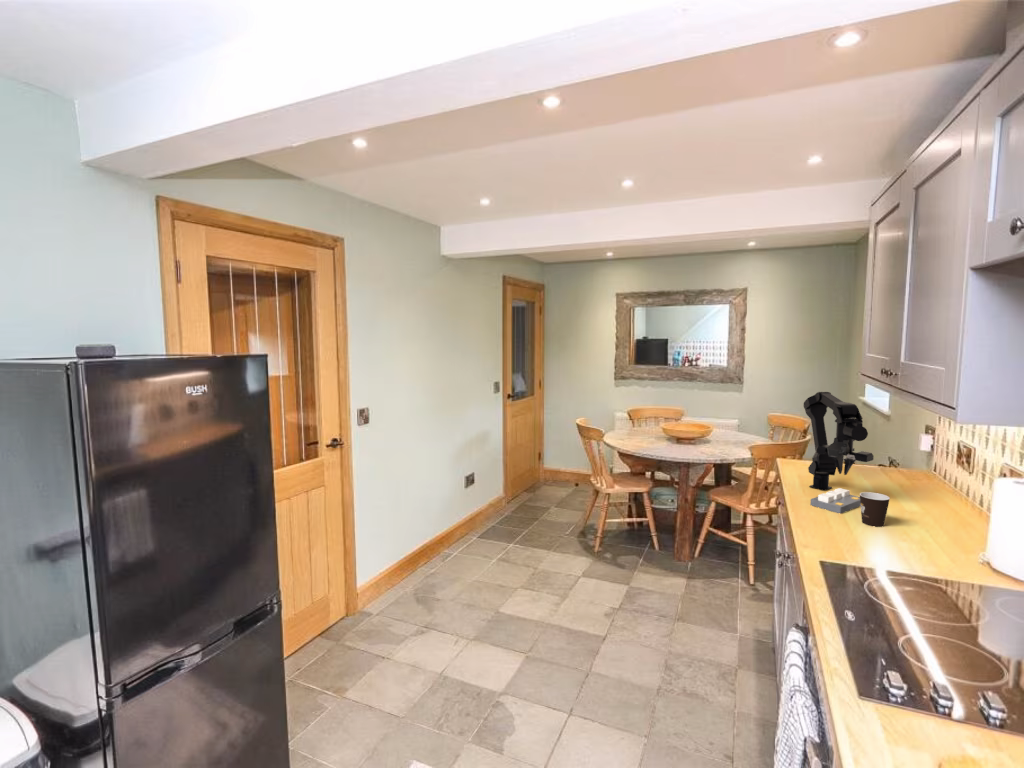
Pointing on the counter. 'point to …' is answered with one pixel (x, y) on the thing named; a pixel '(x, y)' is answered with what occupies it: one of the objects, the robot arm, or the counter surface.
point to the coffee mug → (873, 508)
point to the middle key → (835, 495)
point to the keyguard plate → (838, 504)
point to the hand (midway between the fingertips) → (842, 474)
